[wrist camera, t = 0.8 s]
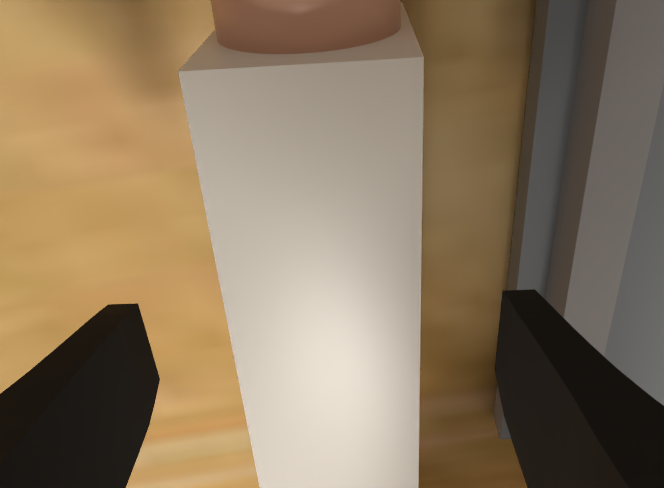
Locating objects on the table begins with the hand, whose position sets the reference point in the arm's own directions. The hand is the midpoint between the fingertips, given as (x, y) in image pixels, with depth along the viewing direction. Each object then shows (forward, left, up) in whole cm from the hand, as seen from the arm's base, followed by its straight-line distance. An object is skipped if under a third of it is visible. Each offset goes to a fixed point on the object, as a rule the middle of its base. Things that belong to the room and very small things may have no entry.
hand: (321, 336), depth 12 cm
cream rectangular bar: (+1, 0, -5) cm, 6 cm away
